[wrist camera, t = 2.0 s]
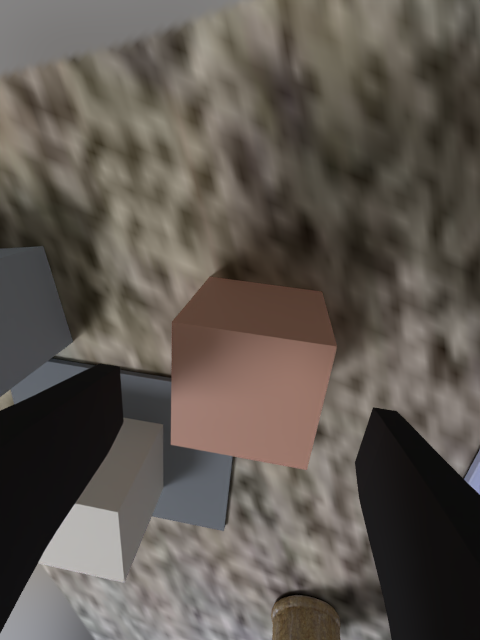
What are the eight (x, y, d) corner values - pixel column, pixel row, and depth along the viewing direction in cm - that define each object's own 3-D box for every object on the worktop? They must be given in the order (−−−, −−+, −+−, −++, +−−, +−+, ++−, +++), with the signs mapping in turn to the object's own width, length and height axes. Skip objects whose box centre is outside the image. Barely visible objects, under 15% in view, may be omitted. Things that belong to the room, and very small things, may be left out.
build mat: (240, 389, 15) (239, 393, 15) (224, 525, 20) (223, 530, 19) (7, 351, 17) (2, 354, 16) (38, 488, 21) (35, 492, 20)
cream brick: (163, 424, 17) (117, 512, 12) (163, 487, 19) (124, 582, 14) (78, 409, 17) (5, 489, 13) (86, 472, 19) (26, 560, 15)
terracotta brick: (321, 290, 13) (337, 346, 9) (302, 385, 15) (306, 470, 11) (210, 275, 14) (171, 322, 9) (204, 369, 15) (170, 444, 11)
